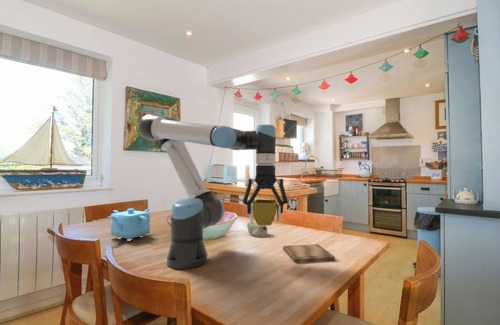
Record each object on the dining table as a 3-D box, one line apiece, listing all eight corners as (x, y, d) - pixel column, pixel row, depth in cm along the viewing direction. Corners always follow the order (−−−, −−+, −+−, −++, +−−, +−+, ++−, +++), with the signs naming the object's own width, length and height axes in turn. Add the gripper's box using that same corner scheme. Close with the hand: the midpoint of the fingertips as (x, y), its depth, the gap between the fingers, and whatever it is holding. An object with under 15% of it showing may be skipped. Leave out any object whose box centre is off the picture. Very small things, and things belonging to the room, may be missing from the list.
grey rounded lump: (270, 236, 135) (261, 218, 134) (253, 244, 135) (244, 227, 134) (268, 230, 145) (260, 213, 144) (253, 238, 145) (244, 222, 144)
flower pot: (275, 227, 98) (275, 203, 98) (251, 226, 100) (252, 202, 100) (277, 222, 107) (277, 199, 107) (255, 221, 109) (256, 199, 109)
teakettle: (148, 241, 129) (148, 210, 129) (105, 244, 123) (105, 213, 123) (150, 231, 147) (150, 205, 147) (113, 234, 141) (113, 206, 141)
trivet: (294, 263, 100) (294, 258, 100) (283, 249, 116) (283, 245, 116) (335, 260, 102) (334, 256, 102) (318, 247, 118) (318, 243, 118)
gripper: (237, 164, 98) (236, 224, 98) (296, 165, 101) (296, 223, 101) (235, 164, 105) (234, 220, 105) (290, 165, 109) (290, 219, 109)
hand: (265, 222), depth 103 cm, fingers closed on flower pot, 10 cm apart
